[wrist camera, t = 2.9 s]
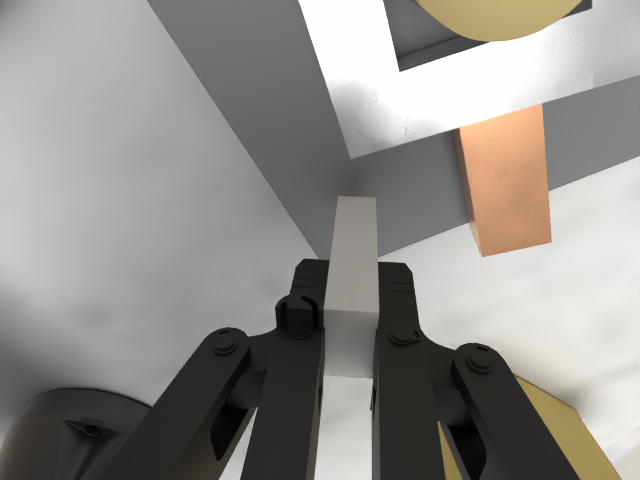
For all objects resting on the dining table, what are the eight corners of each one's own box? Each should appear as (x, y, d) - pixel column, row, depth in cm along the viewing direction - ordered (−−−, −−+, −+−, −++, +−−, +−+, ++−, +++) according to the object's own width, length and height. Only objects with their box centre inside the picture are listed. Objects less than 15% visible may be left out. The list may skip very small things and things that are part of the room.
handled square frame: (247, -197, 13) (225, -227, 11) (656, -418, 10) (732, -515, 8) (386, 246, 21) (388, 277, 19) (630, 189, 19) (663, 218, 17)
